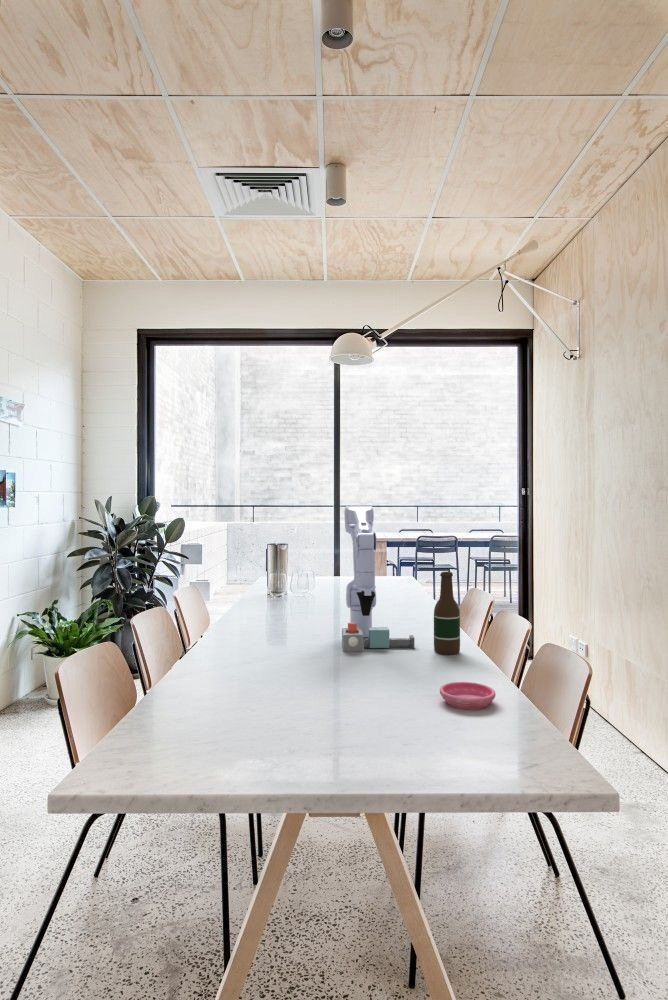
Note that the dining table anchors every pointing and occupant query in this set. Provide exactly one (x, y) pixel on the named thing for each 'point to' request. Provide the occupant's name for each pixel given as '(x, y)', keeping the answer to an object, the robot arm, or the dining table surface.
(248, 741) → the dining table surface
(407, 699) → the dining table surface
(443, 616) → the beer bottle
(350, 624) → the plunger
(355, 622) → the robot arm
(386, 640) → the block
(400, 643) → the rail
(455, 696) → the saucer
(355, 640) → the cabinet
